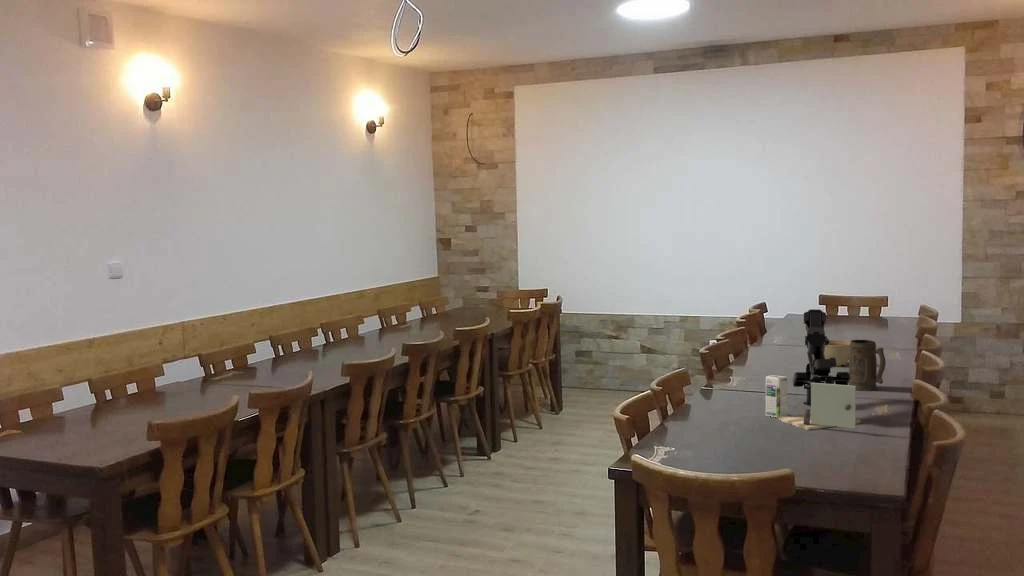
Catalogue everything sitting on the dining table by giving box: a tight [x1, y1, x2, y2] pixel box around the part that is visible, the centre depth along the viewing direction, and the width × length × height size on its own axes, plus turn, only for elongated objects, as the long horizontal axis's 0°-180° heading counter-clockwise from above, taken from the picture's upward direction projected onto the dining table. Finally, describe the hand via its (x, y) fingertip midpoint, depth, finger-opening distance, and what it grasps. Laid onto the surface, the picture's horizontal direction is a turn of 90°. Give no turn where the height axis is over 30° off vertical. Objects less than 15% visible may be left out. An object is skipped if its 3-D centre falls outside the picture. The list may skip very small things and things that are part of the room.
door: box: [810, 383, 856, 429], centre depth 279 cm, size 3×14×14 cm, turn 57°
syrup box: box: [765, 374, 788, 419], centre depth 301 cm, size 6×6×14 cm
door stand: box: [777, 408, 862, 431], centre depth 291 cm, size 16×22×6 cm
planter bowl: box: [824, 339, 852, 367], centre depth 397 cm, size 16×16×11 cm
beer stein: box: [848, 339, 886, 392], centre depth 341 cm, size 15×11×20 cm
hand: (825, 399), depth 290 cm, fingers closed
